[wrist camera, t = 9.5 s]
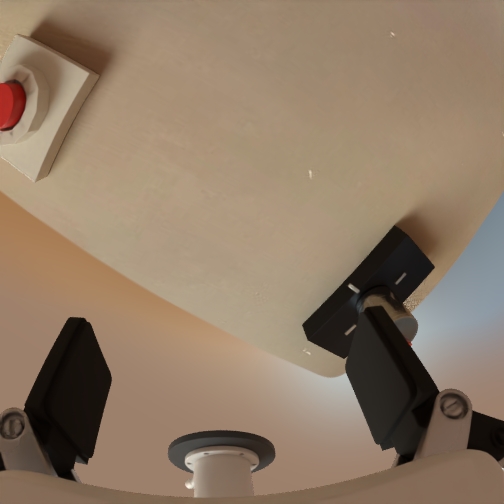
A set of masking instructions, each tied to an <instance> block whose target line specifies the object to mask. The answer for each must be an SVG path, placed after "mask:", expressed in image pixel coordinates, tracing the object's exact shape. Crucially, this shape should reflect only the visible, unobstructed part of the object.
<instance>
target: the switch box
mask: <svg viewBox="0 0 504 504" xmlns="http://www.w3.org/2000/svg"><path fill="white" fill-rule="evenodd" d="M99 77H100V75H98V74H97V73H95V72H93V71H91V70H90V69H88V68H86V67H84V66H83V65H81V64H79V63H77V62H76V61H74V60H72V59H70V58H68V57H67V56H65V55H63V54H61V53H59V52H57V51H55V50H54V49H52V48H50V47H48V46H46V45H44V44H42V43H40V42H38V41H36V40H34V39H32V38H30V37H28V36H24V35H20V34H16V35H15V37H14V39H13V40H12V42H11V44H10V46H9V48H8V49H7V51H6V53H5V55H4V57H3V59H2V61H1V63H0V83H17V84H19V85H21V86H22V88H23V89H24V91H25V95H26V105H25V109H24V112H23V114H22V116H21V118H20V119H19V121H18V122H17V123H16V124H15V125H13V126H11V127H7V128H2V129H0V156H1V157H2V158H3V159H4V160H6V161H7V162H8V163H10V164H11V165H12V166H13V167H15V168H16V169H17V170H19V171H20V172H21V173H23V174H24V175H25V176H27V177H28V178H29V179H31V180H32V181H34V182H37V181H39V180H41V179H43V178H45V177H47V175H48V173H49V171H50V168H51V166H52V164H53V161H54V159H55V157H56V155H57V153H58V150H59V148H60V146H61V144H62V142H63V140H64V138H65V136H66V134H67V132H68V130H69V128H70V126H71V124H72V122H73V121H74V119H75V117H76V115H77V113H78V111H79V110H80V108H81V106H82V104H83V103H84V101H85V99H86V98H87V96H88V94H89V93H90V91H91V89H92V88H93V86H94V85H95V83H96V81H97V80H98V78H99Z"/></svg>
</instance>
